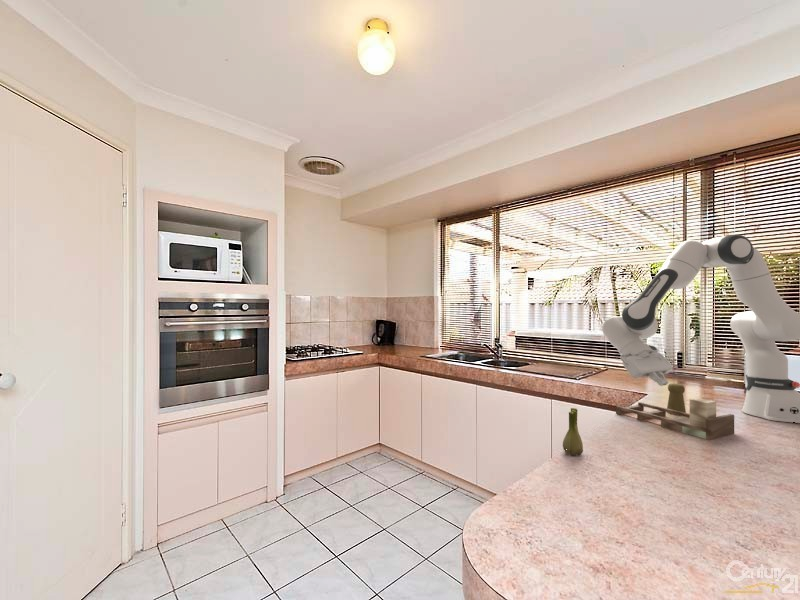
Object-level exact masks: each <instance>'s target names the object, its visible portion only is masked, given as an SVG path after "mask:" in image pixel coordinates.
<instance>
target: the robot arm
mask: <svg viewBox="0 0 800 600" xmlns="http://www.w3.org/2000/svg"><path fill="white" fill-rule="evenodd" d="M719 267H720V268H722V267H725V268H726V269H727V271H728V274H729V276H730V280H731V283H732V286H733V289H734V292H735V295H736V298H737V299H738V301H739V302H740V303H742V304H744V305H745V306H747V307H748V309H750V310H747V311H741V312H738V313H736V314H733V316H732V317H731V319H730V323H729V325H730V329H731V331H732V332H733V333H734V334H735V335H736V336H737V337H738V338H739V340H740V341H741V343H742V346H743V347H744V350H745V356H746V367H747V368H746V369H747V373H746V375H745V379H744V381H745V382H744V384H745V389H746V393H745V399H744V403H743V407H742V409H741V412H742V413H745V414H747V415H750V416H754V417H759V418H762V419H765V420H769V421H774V422H785V423H793V422H795V424H796V423H797V424H800V392H799V391H798V390H796V389H799V388H800V383H799V382H798V381H794V380H791V379H790V378H789V359H788V357H787V355H786V354H785V353H784V352H783V351H781V350H780V349H779V348H778V345H777V344H776V342H793V341H799V340H800V313H799V312H797V311H795V310H794V309H793V308H792V307H791V306H789V304H787V302H786V301H785V300H784V299H783V298H782V297H781V294H780V293H779V292H778V290H777V288H776V285H775V283H774V281H773V277H772V275H771V271H770V269H769V266H768V264H767V262H766V260H765V259H764V257H763V255H762V253H761V252H760V251H759V249H756V247H755V248H754V246H753V243H752V242H751V241H750V239H749V238H748V237H746V236H745V235H741V234H729V235H723V236H718V237H713V238H711V239H707V240H704V241H698V240H693V239H692V240H691V239H690V240H689V239H688V240H685V241H682V242H681V243H679V245H678V246H676V248H675V249H674V250H673V251H672V252H671V253H670V255H669V256H668V257H667V259H666V260H665V261H664V263H663V264H662V266H661V267H660V269H659V271H658V272H657V273H656V275H655V276H654V277H653V278H652V280H651V281H650V282H649V283H648V284H647V286H646V287H645V289H644V290H643V291H642V292H641V293H640V295H638V297H636V298H635V299H634V300H633V301H631V302H629V303H628V304H627V305H625V307H624V308H623V310H622V312H621V316H615V315H614V316H610V317H609V318H607V319H606V320H605V321H604V322H603V325H602V327H601V330H602V333H603V335H604V336H605V338H606V340H607V341H608V342H609V343H610V344H611V346H613V347H614V348H616V349H617V351H618V353H619V354H620V361H621V362H622V365H623V367H624V369H625V370H626V371H627V373H628V374H629V375H630V376H631V377H632V378H633V379H641V378H648V377H649V379H650V380H653V381H654V382H656V384H657V385H658V386H660V387H662V386H666V385H667V386H668V385H669V380H667V379H666V376H665V375H668V374H670V372H671V371H672V370H674V368H673V365H672V363H671V362H670V361H669V360H668V359H667V358H666V357H665V356H664V355H663V353H660V352H659V349H658V347H656V346H654V345H650V344H647V343H645V342H643V341H644V340H646V339H648V338H651V337H652V336H654V335H655V334H656V333H657V331H658V330H659V324H658V320H657V318H656V309H657V306H658V305H659V304H660V302H661V301H662V300H663V299H664V297H665V296H666V294H667V293H668V292H669V291H670V290H672V289H673V290H680V289H685V288H686V287H688V286H689V284H691V282H693V281H694V279H695V278H696V276H697V275H698V273H700V271H701V269H709V268H719Z"/></svg>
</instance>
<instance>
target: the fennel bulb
mask: <svg viewBox="0 0 800 600" xmlns="http://www.w3.org/2000/svg"><path fill="white" fill-rule="evenodd" d="M579 432H580V431H579V429H578V408H576V407H575V408H574V407H573V408H570V411H569V412H568V430H567V432H566V434H565V435H564V438H563V441H562V448H563V451H564V450H565V451H564V452H565V453H566V454H568V455H570V456H580V455H582V454H583V452H584V447H583V440H582V437H581V435H580V433H579ZM566 449H567V450H566Z"/></svg>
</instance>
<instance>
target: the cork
mask: <svg viewBox="0 0 800 600" xmlns="http://www.w3.org/2000/svg"><path fill="white" fill-rule="evenodd" d="M667 391H669V394H668V400H667V405H666V407H667V409H671V410H675V411H680V412H684V413H687V412H686V405H685V399H684V393H685V391H686V390H685V386H684V385H683V384H680V383H668V384H667ZM666 414H670V415H675V416H678V415H677V414H673V413H669V412H666Z"/></svg>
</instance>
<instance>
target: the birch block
mask: <svg viewBox="0 0 800 600" xmlns="http://www.w3.org/2000/svg"><path fill="white" fill-rule="evenodd" d="M689 414H690V424H692V425H696V426H700V427H704V428H706V419H708V418H713V417H717V401H715V400H711V399H705V398H701V397H695V398H690V399H689Z"/></svg>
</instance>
